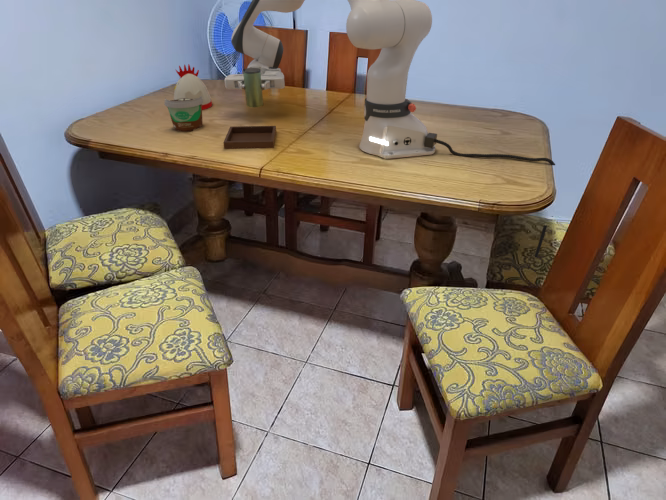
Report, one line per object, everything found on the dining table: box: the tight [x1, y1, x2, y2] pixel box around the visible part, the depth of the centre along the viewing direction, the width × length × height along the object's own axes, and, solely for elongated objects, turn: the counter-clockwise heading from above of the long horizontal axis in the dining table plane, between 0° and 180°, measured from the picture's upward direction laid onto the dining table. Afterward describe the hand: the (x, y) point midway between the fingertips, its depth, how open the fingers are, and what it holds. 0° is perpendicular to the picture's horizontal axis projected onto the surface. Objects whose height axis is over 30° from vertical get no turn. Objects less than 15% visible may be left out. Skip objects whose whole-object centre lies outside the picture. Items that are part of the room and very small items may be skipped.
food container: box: [164, 96, 204, 133], centre depth 150 cm, size 12×6×10 cm, turn 105°
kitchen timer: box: [173, 63, 213, 111], centre depth 172 cm, size 14×14×15 cm
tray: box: [223, 125, 277, 150], centre depth 143 cm, size 15×15×2 cm
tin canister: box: [242, 67, 264, 109], centre depth 153 cm, size 6×6×11 cm
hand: (253, 87), depth 152 cm, fingers closed on tin canister, 5 cm apart
